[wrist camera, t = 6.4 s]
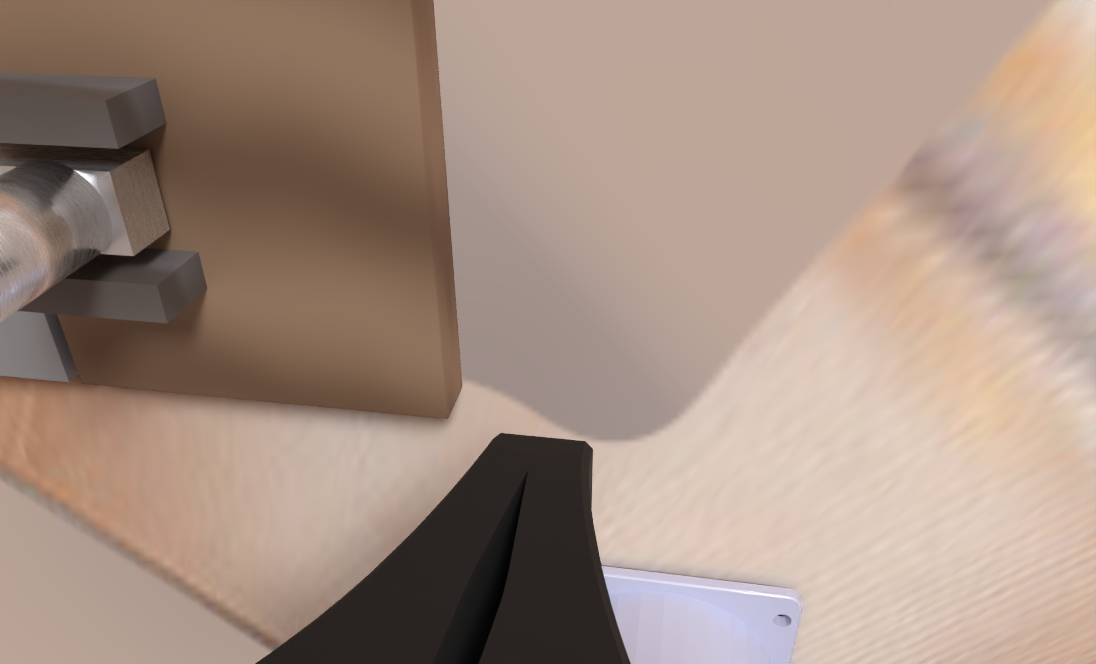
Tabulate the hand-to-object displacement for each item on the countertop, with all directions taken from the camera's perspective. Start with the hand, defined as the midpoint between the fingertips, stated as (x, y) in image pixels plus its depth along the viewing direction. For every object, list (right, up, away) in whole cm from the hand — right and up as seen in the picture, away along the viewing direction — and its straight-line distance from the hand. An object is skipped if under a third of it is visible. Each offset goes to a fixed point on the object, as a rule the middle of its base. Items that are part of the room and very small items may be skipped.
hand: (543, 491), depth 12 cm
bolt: (-14, +6, +8) cm, 17 cm away
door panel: (-8, +6, +9) cm, 13 cm away
